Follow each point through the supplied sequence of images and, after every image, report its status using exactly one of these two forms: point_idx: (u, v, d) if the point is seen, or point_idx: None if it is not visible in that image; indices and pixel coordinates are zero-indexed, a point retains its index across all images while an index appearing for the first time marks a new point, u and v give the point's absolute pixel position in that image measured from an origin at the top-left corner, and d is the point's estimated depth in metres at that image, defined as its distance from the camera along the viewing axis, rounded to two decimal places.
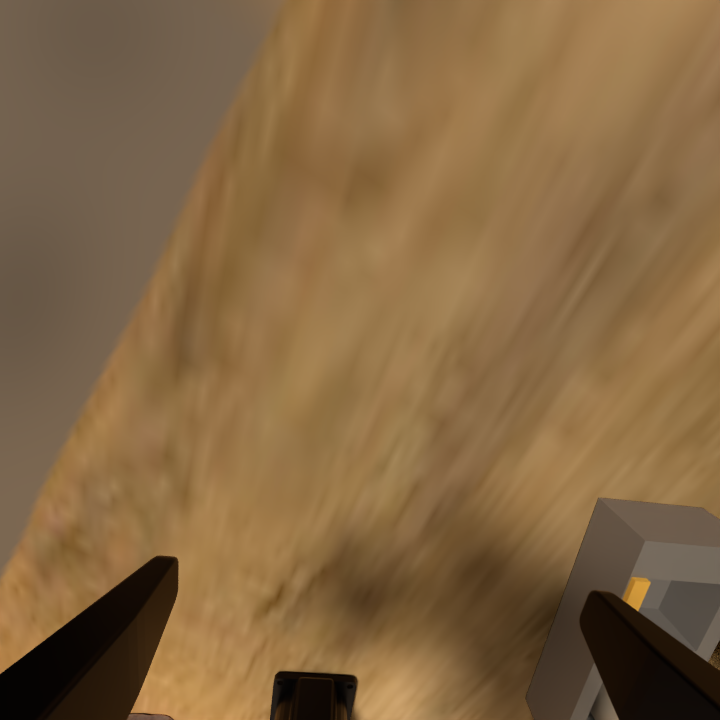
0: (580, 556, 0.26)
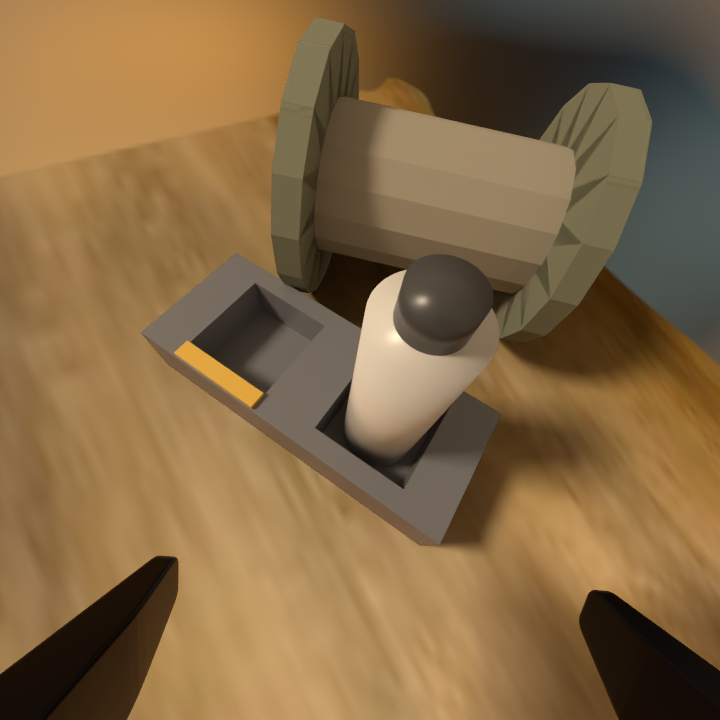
0: (220, 401, 0.23)
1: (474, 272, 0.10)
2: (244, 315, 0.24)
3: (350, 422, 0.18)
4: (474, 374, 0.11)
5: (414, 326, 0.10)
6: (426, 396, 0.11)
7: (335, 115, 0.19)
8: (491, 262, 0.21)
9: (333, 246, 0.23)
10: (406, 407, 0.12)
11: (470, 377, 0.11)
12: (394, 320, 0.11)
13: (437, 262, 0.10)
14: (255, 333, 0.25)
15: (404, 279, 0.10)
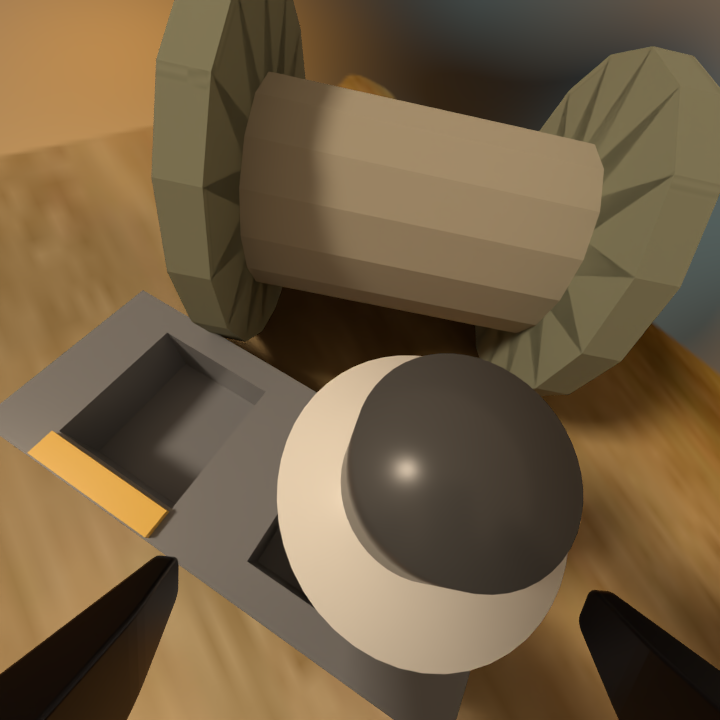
0: None
1: (523, 398, 0.04)
2: (156, 375, 0.17)
3: None
4: (531, 629, 0.05)
5: (387, 555, 0.04)
6: None
7: (261, 95, 0.13)
8: (491, 297, 0.15)
9: (275, 279, 0.17)
10: None
11: (523, 636, 0.05)
12: (343, 498, 0.05)
13: (433, 377, 0.04)
14: (175, 398, 0.18)
15: (356, 438, 0.04)
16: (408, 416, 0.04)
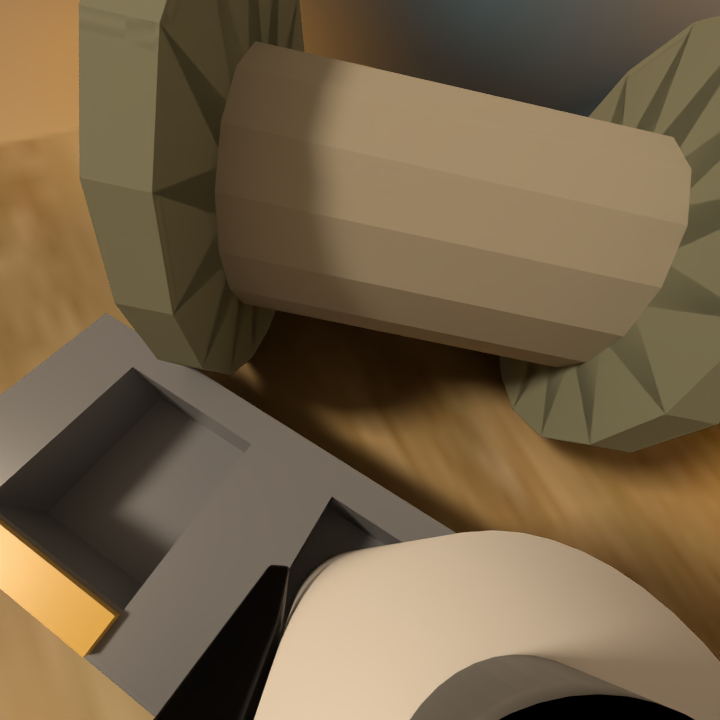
0: None
1: None
2: (122, 416, 0.14)
3: None
4: None
5: None
6: None
7: (245, 70, 0.10)
8: (535, 330, 0.12)
9: (265, 302, 0.14)
10: None
11: None
12: None
13: None
14: (145, 442, 0.15)
15: None
16: None
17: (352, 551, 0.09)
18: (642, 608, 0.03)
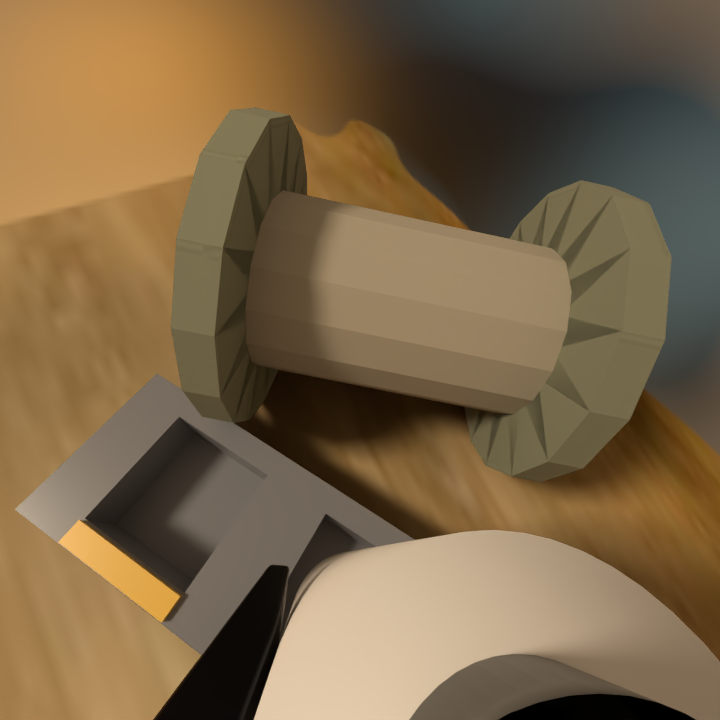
0: None
1: None
2: (169, 451, 0.19)
3: None
4: None
5: None
6: None
7: (266, 228, 0.15)
8: (472, 394, 0.17)
9: (277, 368, 0.18)
10: None
11: None
12: None
13: None
14: (185, 469, 0.20)
15: None
16: None
17: (352, 551, 0.09)
18: (642, 608, 0.03)
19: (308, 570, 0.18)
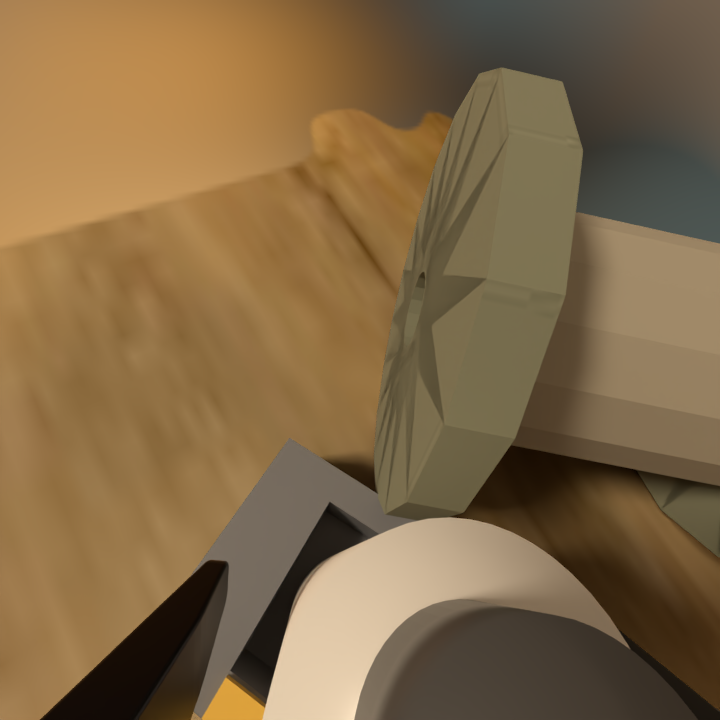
0: None
1: (657, 708, 0.03)
2: (306, 543, 0.14)
3: None
4: None
5: None
6: None
7: None
8: None
9: None
10: None
11: None
12: None
13: (512, 676, 0.03)
14: None
15: None
16: None
17: None
18: (550, 570, 0.04)
19: None
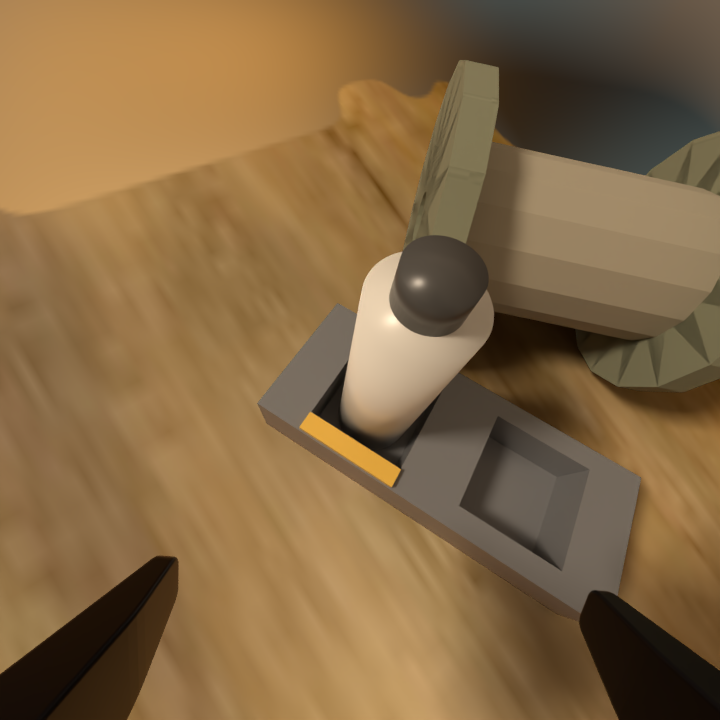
0: (330, 464, 0.22)
1: (469, 253, 0.10)
2: None
3: (346, 406, 0.18)
4: (470, 354, 0.11)
5: (411, 308, 0.10)
6: (423, 377, 0.11)
7: None
8: (627, 316, 0.20)
9: None
10: (403, 389, 0.12)
11: (466, 357, 0.11)
12: (390, 302, 0.11)
13: (432, 243, 0.10)
14: None
15: (400, 261, 0.10)
16: (421, 255, 0.10)
17: None
18: None
19: None
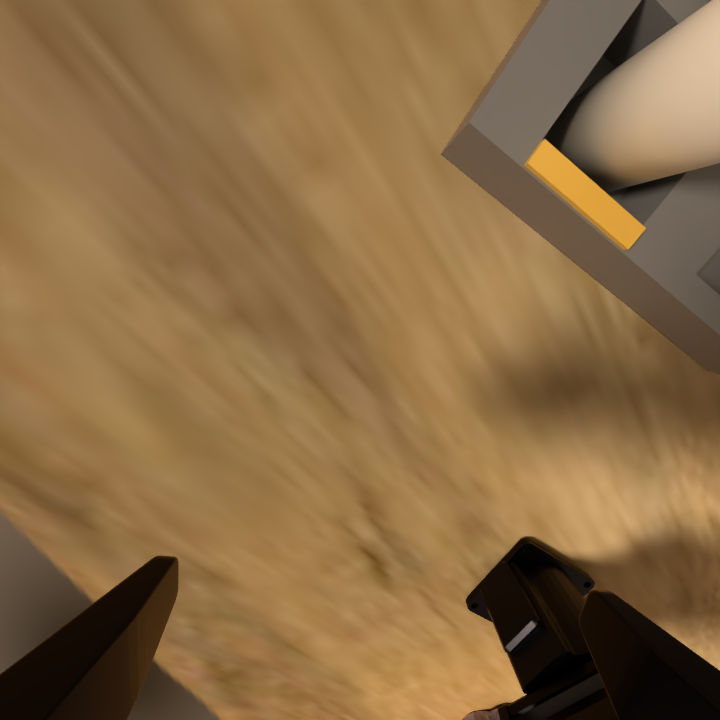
0: (518, 214, 0.18)
1: None
2: None
3: (609, 133, 0.12)
4: None
5: None
6: None
7: None
8: None
9: None
10: None
11: None
12: None
13: None
14: None
15: None
16: None
17: None
18: None
19: None
